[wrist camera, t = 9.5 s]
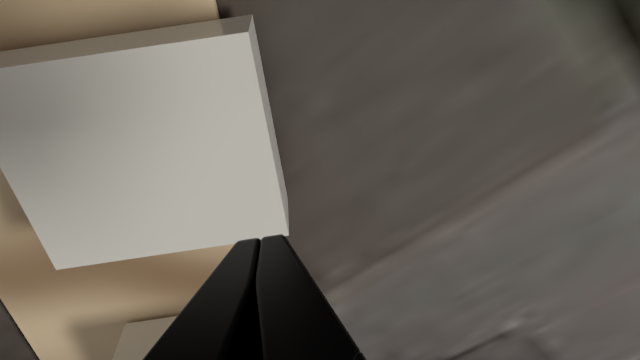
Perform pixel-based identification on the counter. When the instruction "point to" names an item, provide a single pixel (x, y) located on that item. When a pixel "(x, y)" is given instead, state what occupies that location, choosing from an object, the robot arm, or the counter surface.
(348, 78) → the counter surface
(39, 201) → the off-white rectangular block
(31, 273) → the cork mat
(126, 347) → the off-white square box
